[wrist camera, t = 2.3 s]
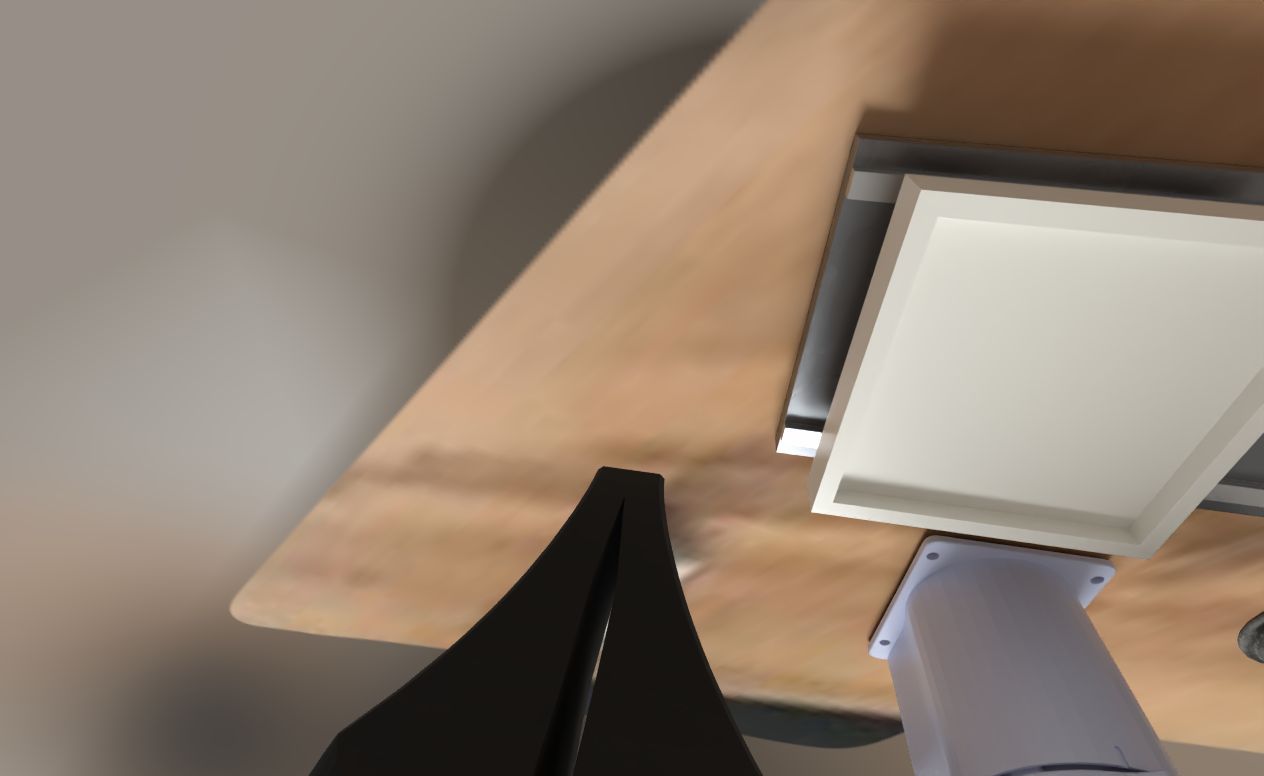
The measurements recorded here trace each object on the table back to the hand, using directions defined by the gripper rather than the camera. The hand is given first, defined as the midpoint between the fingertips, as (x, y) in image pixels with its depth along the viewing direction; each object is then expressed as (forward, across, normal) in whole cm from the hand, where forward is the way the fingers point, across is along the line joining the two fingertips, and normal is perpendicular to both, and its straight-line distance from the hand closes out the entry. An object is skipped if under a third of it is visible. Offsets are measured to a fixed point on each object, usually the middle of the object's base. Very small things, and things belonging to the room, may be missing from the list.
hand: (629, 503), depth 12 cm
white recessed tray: (+9, -12, 0) cm, 15 cm away
